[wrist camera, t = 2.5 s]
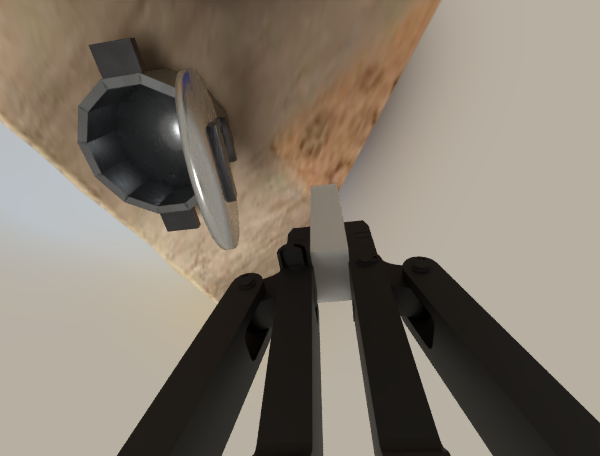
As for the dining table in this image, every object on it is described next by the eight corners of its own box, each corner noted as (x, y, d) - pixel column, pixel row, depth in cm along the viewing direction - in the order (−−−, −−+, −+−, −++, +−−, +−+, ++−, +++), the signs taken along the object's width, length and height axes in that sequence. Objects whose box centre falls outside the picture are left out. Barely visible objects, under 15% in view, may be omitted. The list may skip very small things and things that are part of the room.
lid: (154, 77, 17) (182, 72, 17) (195, 66, 31) (211, 63, 31) (226, 286, 25) (246, 282, 25) (234, 205, 39) (247, 202, 39)
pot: (77, 52, 37) (32, 54, 31) (219, 27, 35) (200, 24, 29) (149, 213, 49) (126, 237, 43) (259, 200, 47) (251, 224, 41)
